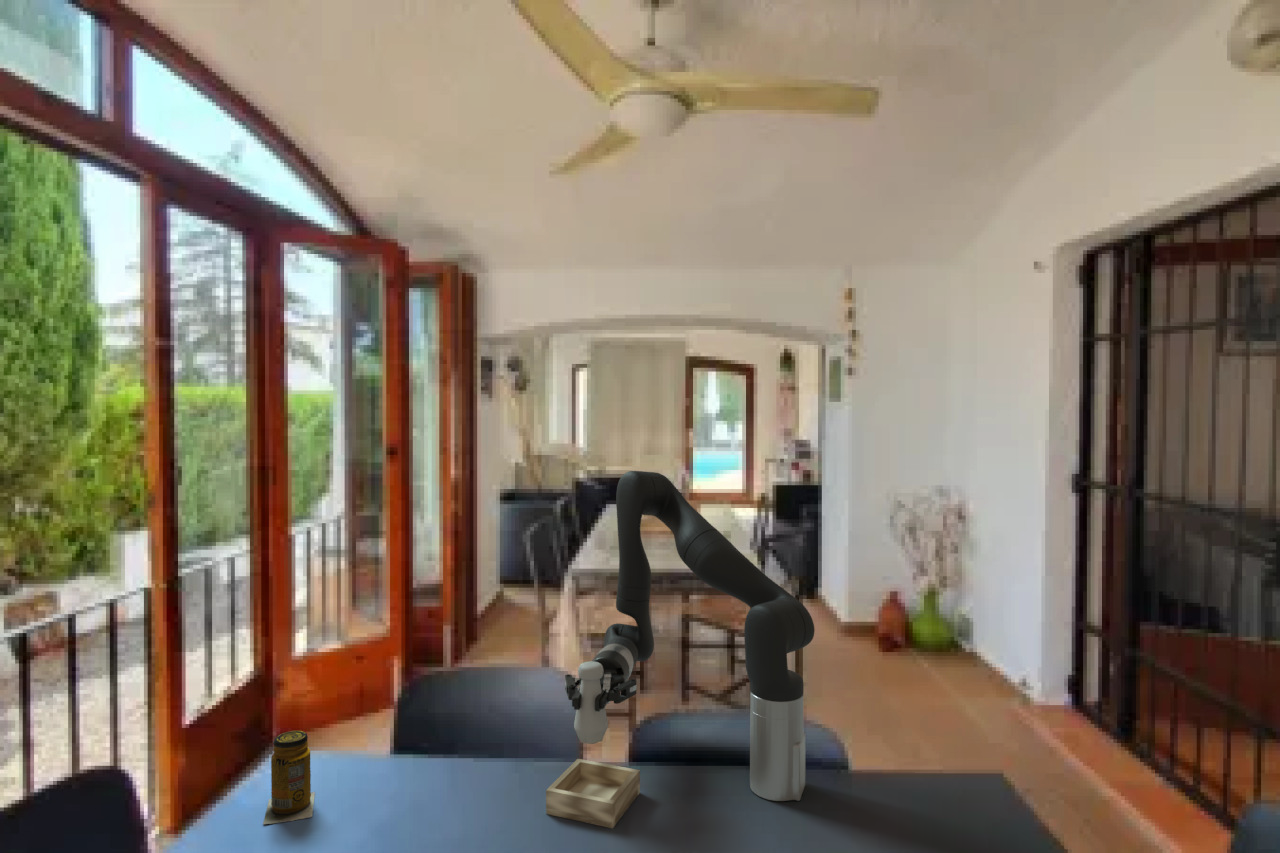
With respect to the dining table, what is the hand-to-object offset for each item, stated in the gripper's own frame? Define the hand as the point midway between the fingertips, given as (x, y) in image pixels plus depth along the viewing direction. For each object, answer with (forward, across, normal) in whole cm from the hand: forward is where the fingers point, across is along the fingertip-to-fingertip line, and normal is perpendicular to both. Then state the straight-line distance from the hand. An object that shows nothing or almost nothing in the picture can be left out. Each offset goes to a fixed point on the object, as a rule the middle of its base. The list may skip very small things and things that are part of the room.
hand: (586, 704), depth 127 cm
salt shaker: (-3, 0, +7) cm, 8 cm away
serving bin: (-2, +1, +18) cm, 18 cm away
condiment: (+10, -49, +18) cm, 53 cm away
